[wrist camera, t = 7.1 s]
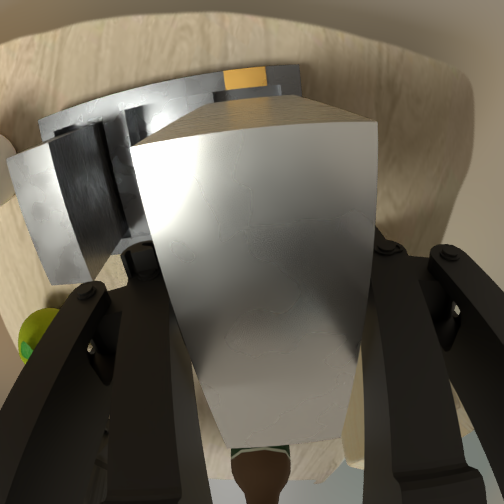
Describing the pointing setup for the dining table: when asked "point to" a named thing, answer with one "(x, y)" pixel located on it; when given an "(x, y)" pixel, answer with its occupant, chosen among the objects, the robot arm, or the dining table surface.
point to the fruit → (34, 331)
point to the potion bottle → (5, 170)
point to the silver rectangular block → (266, 257)
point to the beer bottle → (261, 472)
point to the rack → (112, 165)
